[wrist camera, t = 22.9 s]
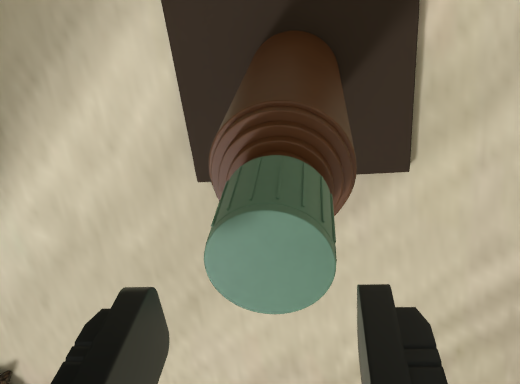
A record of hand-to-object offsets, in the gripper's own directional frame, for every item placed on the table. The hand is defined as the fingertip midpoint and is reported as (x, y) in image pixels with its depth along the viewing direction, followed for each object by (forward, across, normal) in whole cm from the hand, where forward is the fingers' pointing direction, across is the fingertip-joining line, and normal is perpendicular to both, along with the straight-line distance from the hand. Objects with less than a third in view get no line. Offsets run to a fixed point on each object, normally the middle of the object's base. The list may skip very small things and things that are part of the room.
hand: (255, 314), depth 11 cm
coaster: (+23, 0, 0) cm, 23 cm away
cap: (+6, 0, 0) cm, 6 cm away
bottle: (+22, 0, 0) cm, 22 cm away
